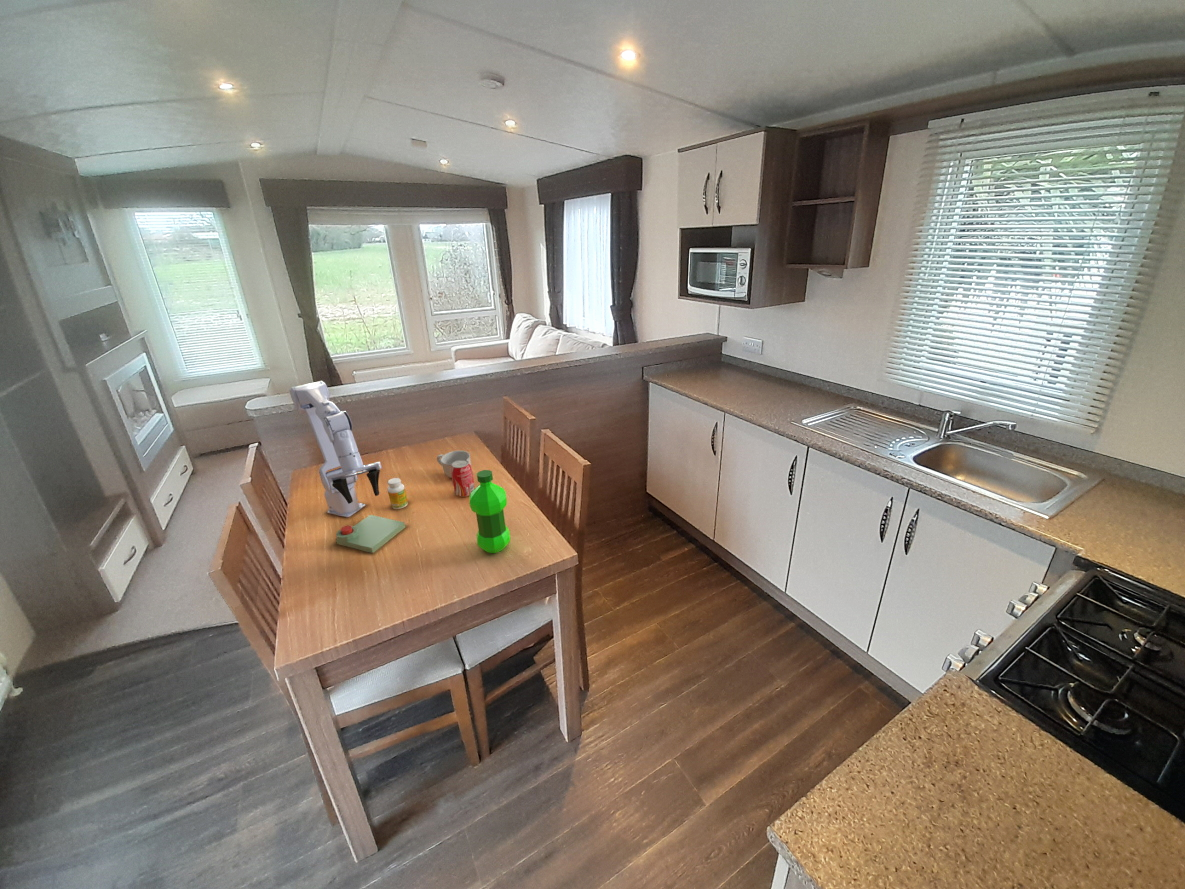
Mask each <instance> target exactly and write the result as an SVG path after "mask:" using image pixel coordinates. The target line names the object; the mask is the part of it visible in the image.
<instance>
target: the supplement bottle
mask: <svg viewBox="0 0 1185 889" xmlns="http://www.w3.org/2000/svg"><path fill="white" fill-rule="evenodd" d="M387 485H388V487H387V494H388V497H389V501H390V506H391V508H392V509H394V510H400V509H403V508H405V507H407V506H408V504H409V501H408V497H407V492H406V488H405V485H404V484H403V483H402V480H401V478H400V477H393V478H391V479H389V480H388V481H387Z"/></svg>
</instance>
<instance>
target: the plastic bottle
mask: <svg viewBox="0 0 1185 889" xmlns="http://www.w3.org/2000/svg"><path fill="white" fill-rule="evenodd" d="M476 479H477V483H479V485H478V486H476V487H474V490H473V491H472V492H471V493H470V495H469V496H468V497H469V498H468V499H469V508H470V510H471V512H473V513H475V515H476V520H477V522H476V523H477V529H478V530H477V533H476V543H477V546H478V547H479V548H480V549H481V550H483V551H485V552H486V553H489V554H498V553H499V552H502V551H503V550H504V549H505V548H506V547H507V546H508V545H509V543H510V541H511V535H510V534H511V533H510V529H509V527H508V526H507V525H506V520H505V519H506V518H505V512H504V509H505V508H506V507H507V504H508V501H507V493H506V490H505V489H504V488H503V487H501V485H498V484H496V483H493V482H492V481H493V480H494V476H493V471H492V470H490V469H482V470H480V471H478V472H477V473H476Z"/></svg>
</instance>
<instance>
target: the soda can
mask: <svg viewBox="0 0 1185 889" xmlns="http://www.w3.org/2000/svg"><path fill="white" fill-rule="evenodd" d="M451 475H452V478H451V480H452V486H453V489H454V494H455V495H456V496H457V497H461V498H466V497H470V493H471V492H472V491H473V490H474V489H475V481H474V475H473V470H472V464H471V465H470V464H469V462H468V461H467V460H458V461H455V462H453V463H452V467H451Z"/></svg>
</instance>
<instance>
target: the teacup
mask: <svg viewBox="0 0 1185 889" xmlns="http://www.w3.org/2000/svg"><path fill="white" fill-rule="evenodd" d="M458 460H467V461H468V462H469V464H470V465H471V466H472V459H471V454H470V452H468V451H467V450H452V451H450V452H447V453H445V454H442V453H441V454H440V453H439V454H438V455H437V456H436V461H437V462H438V464H439V465H440V466H441V467H442V470H443V473H444V474H445V476H446V477H447V478H451V479H452V475H451V467H452V463H453V462H455V461H458Z"/></svg>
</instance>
